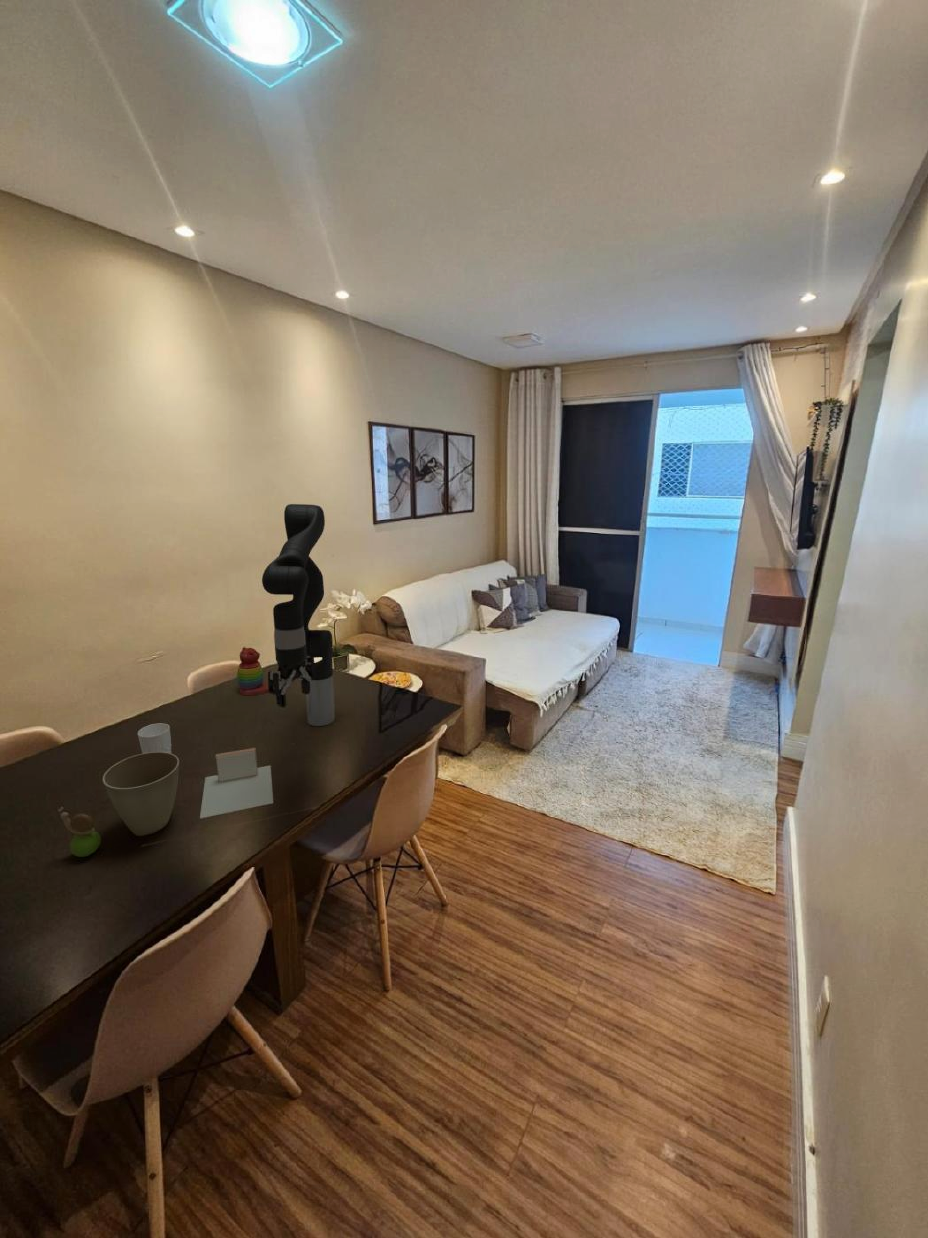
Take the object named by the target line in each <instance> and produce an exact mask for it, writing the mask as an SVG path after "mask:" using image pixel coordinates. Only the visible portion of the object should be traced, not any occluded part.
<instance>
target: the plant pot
mask: <svg viewBox="0 0 928 1238" xmlns="http://www.w3.org/2000/svg"><path fill="white" fill-rule="evenodd" d="M179 768H180V759H179V758H178V756H177V755H176V754H173V753H172V752H171V753H167V752H149V753H140V754H139V753H138V754H136V755H132V756H130V757H129V756H128V757H127V758H125V759H122V760H120V761H119V762H117V763H115V764H114V765H112V766H111V767H109V768H108V769H107V770H106V771H105V772H104V774H103V776H102V783H103V785H104V788H105V790H106V793H107V795H108V797H109V799H110V801H111V803H112V805H113V807H114V808H115V809H114V810H116V812H117V814H118V815H119V817H120V819H121V820H122V821H123V823H124V824H125V825H126V827H127V828H128V829H129V830H130V832H132V833H133V834H134V835H135V836H138V837H144V836H146V835H151V834H154V833H156V832H159V831H160V830H161V829H163V828H164V827H166V826H167V824H168V823H169V821H170V818H171V815H172V812H173V807H174V804H175V800H176V795H177V790H178V782H179Z"/></svg>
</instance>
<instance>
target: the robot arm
mask: <svg viewBox="0 0 928 1238" xmlns="http://www.w3.org/2000/svg"><path fill="white" fill-rule="evenodd" d="M283 515H284V516H283V520H284V527H285V533H286V539H287V540H286V542H284V544H283V545H282V548H281V549H280V552H279V555H278V556H277V557H276V558H275V559H274V560H273V561H271V562H270V563H269V564H268V565H267V567H265V569H264V571H263V573H262V577H261V582H262V583H261V585H262V587H263V589H264V591H266V593H268V594H270V595H276V596H280V595H282V596H283V595H285V596H292V599H290V600H288V601H283V602H279V603H276V604H275V605H274V606H273V608H272V612H273V613H272V614H273V626H274V628H273V629H274V631H273V641H274V642H273V643H274V653H275V655H274V656H275V661H276V663H277V666H278V668H277V670H274V671H271V670H270V671H269V670H268V672H267V686H268V694H269V695H273V696H275V699H276V705H277V706H278V707H280V708H285V707H287V699H286V698H287V697H286V690H287V689H288V687H290V685H291V683H292V682H294V681H295V680H298V679H300V680H301V681H300V683H301V684H300V685H301V686H300V687H301V692H302V694H304V695H305V699H306V719H307V720H306V721H307V723H308V724H309V725H310V726H314V727H324V726H328V725H330V724H332V723H333V722H334V721H335V720H334V719H335V693H334V671H333V670H334V668H333V667H334V666H333V663H334V662H333V646H334V645H333V644H334V643H333V642H334V641H333V635H332V634H333V633H332V632H331V630H328V629H310V627H309V624H310V620H311V618H312V617H313V616H314V614H315V612H316V610H317V609H318V607H319V605H321V602H322V601H323V599H324V596H325V585H324V576H323V574H322V571H321V570H320V568H319V566H318V565H317V563H315V562H314V560H313V559H312V558H311V556H310V554H311V552H312V550H313V549H314V547H315V546H316V544H317V542H318V541H319V540H320V539H321V536H322V535H323V533H324V530H325V524H326V523H325V521H326V520H325V512H324V510H323V508H322V507H321V506H320V505H317V504H304V503H302V504H301V503H298V504H297V503H292V504H291V503H290V504H287V505H285V508H284V512H283ZM315 658H321V659H320V660H319V661H316V662H315ZM283 680H284V681H285V682H284V681H283Z"/></svg>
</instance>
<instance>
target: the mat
mask: <svg viewBox="0 0 928 1238" xmlns="http://www.w3.org/2000/svg"><path fill="white" fill-rule="evenodd" d="M271 768H272V765H265V766H261V767H257V769H258V775H255V776H249V777H244V778H239V779H233V780H228V781H223V782H219V781H218V774H217V775H212V776H211V775H210V776H206V777H205V779H204V784H203V785H204V787H203V793H202V801H201V808H200V815H199V819H203V818H204V819H206V818H209V817H214V816H218V815H223V814H228V813H232V812H238V811H242V810H248V809H252V808H256V807H261V806H266V805H271V804H274V794H273V781H272V769H271Z"/></svg>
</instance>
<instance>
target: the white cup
mask: <svg viewBox="0 0 928 1238" xmlns="http://www.w3.org/2000/svg"><path fill="white" fill-rule="evenodd" d="M137 737H138V741H139V744H140V745H139V747H140V749H141V750H140V751H141V754H143V753H149V752H167V753H171V754H172V739H171V738H172V737H171V727H170V725H169V724H167V723H158V722H157V723H152V724H149V725H145V726H143V727H142V728H140V729H139V730H138V732H137Z"/></svg>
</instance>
